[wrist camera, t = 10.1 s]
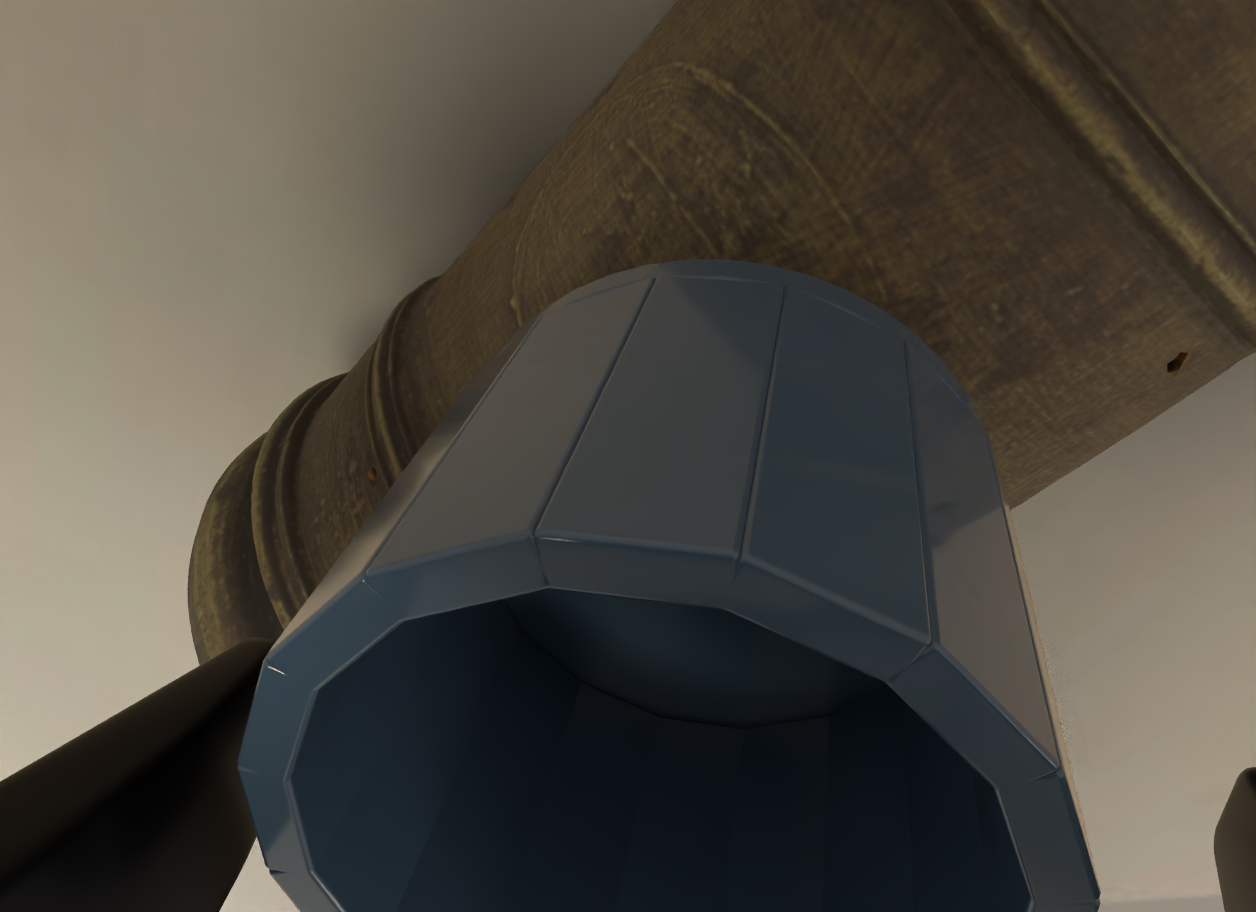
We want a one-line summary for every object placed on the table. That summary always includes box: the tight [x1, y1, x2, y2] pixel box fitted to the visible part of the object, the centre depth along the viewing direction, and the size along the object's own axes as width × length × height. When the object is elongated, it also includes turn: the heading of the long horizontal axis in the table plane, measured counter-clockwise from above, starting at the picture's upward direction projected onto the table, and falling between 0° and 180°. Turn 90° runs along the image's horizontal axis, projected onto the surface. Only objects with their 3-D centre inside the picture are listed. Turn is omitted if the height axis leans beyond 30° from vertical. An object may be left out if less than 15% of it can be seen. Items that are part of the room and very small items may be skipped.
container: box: [188, 0, 1256, 665], centre depth 16 cm, size 10×10×20 cm
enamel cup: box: [237, 259, 1101, 912], centre depth 10 cm, size 6×6×5 cm
